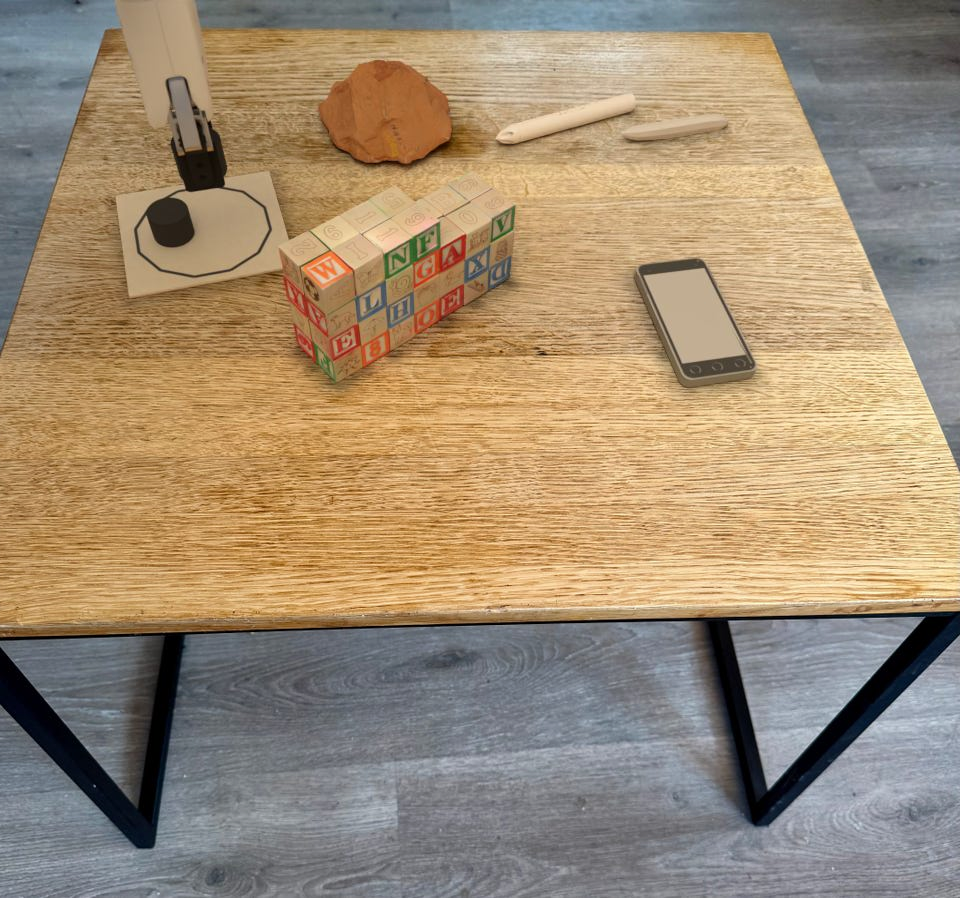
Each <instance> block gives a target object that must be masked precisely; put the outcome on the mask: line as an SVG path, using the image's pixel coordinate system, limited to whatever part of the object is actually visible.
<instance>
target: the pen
mask: <svg viewBox="0 0 960 898" xmlns="http://www.w3.org/2000/svg"><path fill="white" fill-rule="evenodd" d="M729 122H730V120H729V119H728V118H727V117H726V116H725V115H723V114H721V113H706V114H699V115H693V116H687V117H680V118H672V119H667V120H661V121H655V122H654V121H653V122H649V123H642V124H637V125H633V126H630V127H628V128H626V129H625V130H623V131H622V132H620V133H619V135H620V136H622V137H623V138H627V139H630V140H634V141H656V140H668V139H676V138H681V137H687V136H693V135H698V134H704V133H710V132H716V131H720V130H722V129H724V128H725V127H726V126H727V125H728V124H729Z"/></svg>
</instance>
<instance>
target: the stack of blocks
mask: <svg viewBox="0 0 960 898" xmlns="http://www.w3.org/2000/svg"><path fill="white" fill-rule="evenodd" d="M515 217H516V203H515V202H513V201H512V200H510V199H509V198H508V197H507V196H505V195H504V194H503V193H502V192H500V191H499V190H498V189H497V188H495V187H493V186H492V185H490V184H489V183H488V182H487V181H485V180H484V179H483V178H481V177H480V176H479V175H478V174H476V173H475V172H474V171H470V172H467V173H466V174H464V175H463V176H461V177H459V178H457V179H455V180H454V181H452V182H450V183H449V184H445V185H443V186H441V187H439V188H438V189H436V190H434V191H432V192H430V193H429V194H426V195H425V196H423V197H422V198H419V199H417V200H414V199H413V198H411V197H410V196H409V195H408V194H407V193H406V192H404V191H403V190H402V189H400V187H398V186H397V185H392V186H391V187H389V188H387V189H385V190H383V191H380V192H379V193H377V194H375V195H374V196H372V197H370V198H368V199H367V200H365V201H363V202H360V203H359V204H358V205H355V206H353V207H351V208H350V209H348V210H346V211H344V212H342V214H340V215H336V216H334V217H332V218H331V219H329V220H327V221H325V222H323V223H321V224H319V225H317V226H316V227H314V228H311V229H310V231H309V230H307V231H305V232H302V233H301V234H299V235H297V236H295V237H293V238H291V239H289V241H287V242H285V243H283V244H281V245H280V246H279V253H280V258H281V263H282V267H283V270H282V271H283V273H282V278H283V284H284V289H285V293H286V297H287V300H288V305H289V308H290V309H289V310H290V313H291V318H292V321H293V324H292V325H293V329H294V332H295V339H296V340H295V341H296V343H297V345H298V346H299V347H300V349H302V350H303V352H305V353H306V355H307V356H308V357H309V358H310V359H311V360H312V361H313V362H315V363H316V364H317V365H318V366H319V367H320V368H321V369H322V371H324V372H325V373H326V374H327V376H328V377H329V378H330V379H331V380H332V381H333V382H334V383H339V382H341V381H343V380H344V379H346V378H347V377H350V376H351V375H352V374H354V373H356V372H358V371H360V370H361V369H362V368H365V367H367V366H369V365H370V364H372V363H374V362H375V361H377V360H379V359H380V358H382V357H383V356H385V355H386V354H388V353H389V352H391V351H393V350H395V349H397V348H399V347H400V346H402V345H403V344H405V343H407V342H408V341H410V340H412V339H413V338H415V337H416V335H417V334H420V333H421V332H423V331H424V330H426V329H428V328H429V327H431V326H432V325H434V324H435V323H438V322H439V320H441V319H443V318H444V317H446V316H449V315H450V314H451V313H453V312H454V311H457V310H458V309H459V308H461V307H462V306H466V305H468V304H470V303H471V302H473V301H474V300H477V298H479V297H481V296H482V295H484V294H485V293H487V292H488V291H491V290H492V289H494V288H495V287H497V286H498V285H500V284H502V283H504V282H505V281H507V280H508V279H509V278H510V277H511V270H512V269H511V268H512V260H513V255H512V254H513V251H514V243H515V230H514V229H515Z"/></svg>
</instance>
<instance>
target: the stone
mask: <svg viewBox="0 0 960 898" xmlns="http://www.w3.org/2000/svg"><path fill="white" fill-rule="evenodd" d="M317 109H318V113H319V117H320V119H321V120H322V122H323V124H324V126H325V127H326V128H327V130H328V132H329V133H328V137H329V139H330V141H331V142H333V144H334V145H335V146H336V147H337V148H338V149H341V150H342V151H345V152H347V153H349V154H350V155H351V157H352V158H354V159H355V160H358V161H360V162H364V163H367V164H368V163H369V164H370V163H371V164H373V163H375V164H376V163H378V164H379V163H381V162H383V161H385V162H386V161H389V162H390V161H392V162H399V163H400V164H403V165H408V164H411V163H412V162H413V161H416V160H418V159H423V158H425V157H426V156H427V155H428V154H429V153H430V152H433V151H434V150H435V149H437V148H438V147H439V146H440V145H442V144H444V143H446V142H448V141H449V140H450V139H451V137H452V132H453V128H452V124H453V121H452V118H451V117H450V116H449V114H450V110H451V107H450V104H449V98H448V97H447V95H446V94H445V93H444V92H443V91H442V90H441V89H440V88H438V87H437V86H435V85H434V84H433V83H431V82H430V81H429V80H428V78H427V77H426V76H425V75H423V74H422V73H420V72H419V71H417V69H415V68H414V67H412V66H411V65H408V64H405V63H404V62H403V61H400V60H385V59H373V60H371V61H368V62H364V63H358V64H357V66H356V67H355V68H354V70H352V72H351V73H350V75H348V76H347V77H346V78H345V79H344V80H342V81H335V82H333V84H332V86H331V88H330V91H329V94H328V96H327V97H326V98H325V100H324V101H322V102H320V103H318V104H317Z"/></svg>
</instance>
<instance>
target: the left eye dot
mask: <svg viewBox="0 0 960 898" xmlns="http://www.w3.org/2000/svg"><path fill="white" fill-rule="evenodd" d="M146 216H147V219H148V222H149V225H150V228H151V231H152V234H153V237H154V239H155V241H156V242H157V243H158V244H160V245H161V246H164V247H171V248H172V247H179V246H182V245H185V244H187V243H188V242H189V241H190V240H191V239H192V238H193V236H194V233H195V230H194V227H193V223H192V220H191V216H190V213H189V209H188V206H187V204H186V203H185V202H184V201H182V200H180V199H177V198H162V199H159V200H157V201H155V202H153V203H152V204H151V205H150V206H149V207H148V208H147V211H146Z"/></svg>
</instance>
